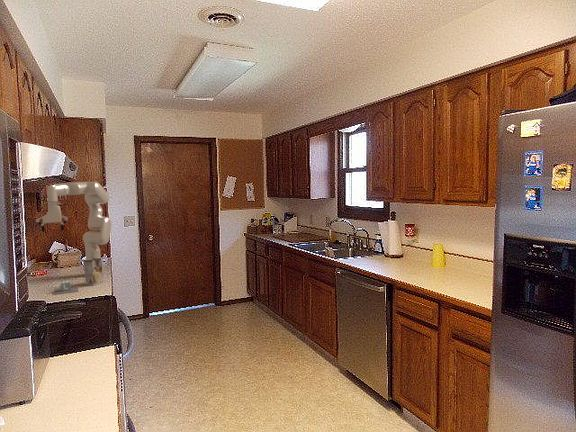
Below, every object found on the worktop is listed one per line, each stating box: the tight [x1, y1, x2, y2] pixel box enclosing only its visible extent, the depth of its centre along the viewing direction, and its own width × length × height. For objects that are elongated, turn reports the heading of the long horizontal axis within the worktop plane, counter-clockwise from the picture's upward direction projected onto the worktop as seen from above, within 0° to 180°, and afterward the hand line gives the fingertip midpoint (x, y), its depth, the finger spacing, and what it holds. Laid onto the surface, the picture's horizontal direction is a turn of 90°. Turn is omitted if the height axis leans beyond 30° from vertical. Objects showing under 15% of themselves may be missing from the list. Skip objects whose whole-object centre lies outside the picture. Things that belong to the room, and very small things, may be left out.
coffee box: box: [83, 258, 104, 286], centre depth 255 cm, size 9×6×16 cm
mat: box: [52, 285, 79, 296], centre depth 239 cm, size 13×13×1 cm
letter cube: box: [60, 280, 72, 292], centre depth 239 cm, size 5×5×5 cm
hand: (53, 231), depth 241 cm, fingers open, 9 cm apart
